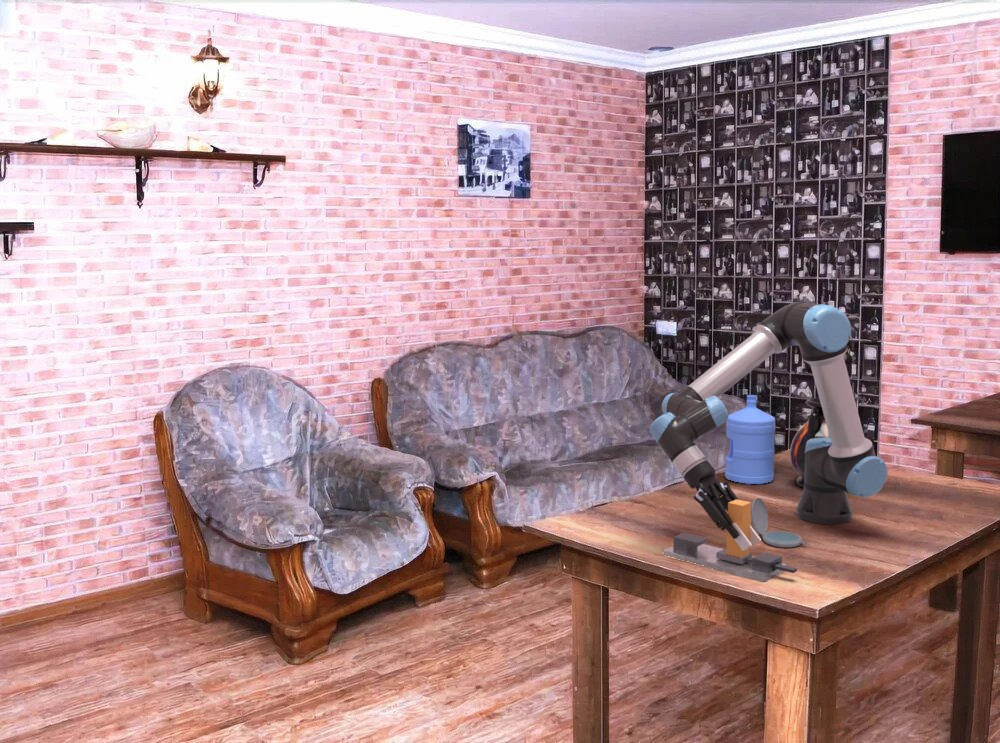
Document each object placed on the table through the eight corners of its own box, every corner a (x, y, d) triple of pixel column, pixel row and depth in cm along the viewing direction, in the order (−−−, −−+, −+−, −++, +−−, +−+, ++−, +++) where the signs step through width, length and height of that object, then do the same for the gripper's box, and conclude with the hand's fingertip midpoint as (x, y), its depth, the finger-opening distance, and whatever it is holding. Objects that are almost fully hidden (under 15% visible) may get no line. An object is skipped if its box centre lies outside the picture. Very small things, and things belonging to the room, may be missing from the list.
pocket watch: (762, 494, 268) (817, 502, 260) (761, 532, 270) (815, 542, 261) (748, 502, 260) (804, 511, 252) (746, 542, 262) (802, 553, 253)
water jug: (781, 478, 327) (785, 395, 323) (759, 487, 316) (762, 401, 312) (739, 471, 338) (741, 390, 334) (716, 479, 326) (718, 396, 322)
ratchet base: (786, 570, 240) (786, 552, 239) (764, 582, 232) (764, 563, 231) (686, 545, 259) (687, 529, 258) (663, 555, 251) (663, 538, 250)
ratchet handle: (799, 570, 234) (802, 512, 232) (789, 576, 231) (792, 516, 229) (726, 553, 247) (728, 497, 245) (716, 557, 244) (717, 501, 242)
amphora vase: (810, 475, 332) (814, 392, 328) (871, 487, 316) (875, 400, 312) (775, 486, 318) (778, 400, 314) (837, 499, 302) (841, 409, 298)
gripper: (703, 470, 257) (759, 545, 248) (666, 483, 244) (724, 562, 235) (721, 453, 252) (779, 529, 244) (685, 465, 240) (745, 545, 231)
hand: (752, 545), depth 239 cm, fingers closed on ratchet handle, 4 cm apart
